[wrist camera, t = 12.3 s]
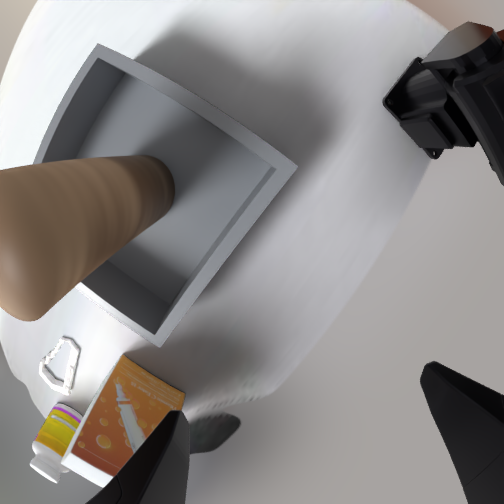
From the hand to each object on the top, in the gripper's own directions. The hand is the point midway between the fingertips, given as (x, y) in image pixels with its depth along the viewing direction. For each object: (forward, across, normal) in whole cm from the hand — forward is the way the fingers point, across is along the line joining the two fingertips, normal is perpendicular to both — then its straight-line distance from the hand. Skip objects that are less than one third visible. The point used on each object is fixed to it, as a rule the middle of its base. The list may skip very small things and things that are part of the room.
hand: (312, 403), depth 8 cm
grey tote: (+14, +8, -7) cm, 17 cm away
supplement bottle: (+15, +33, +22) cm, 42 cm away
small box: (+14, +15, +13) cm, 25 cm away
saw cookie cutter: (+15, +27, +10) cm, 33 cm away
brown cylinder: (+13, +8, -7) cm, 17 cm away
